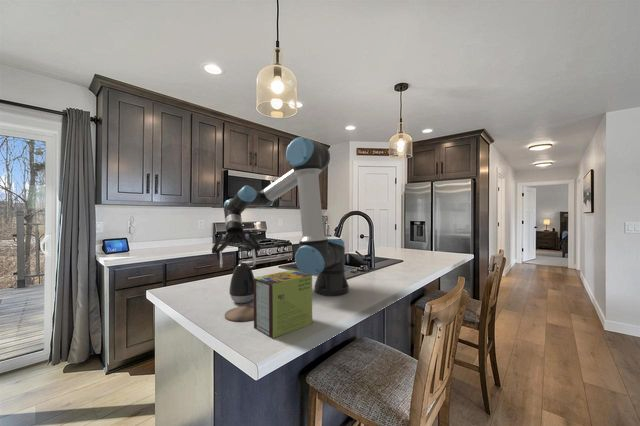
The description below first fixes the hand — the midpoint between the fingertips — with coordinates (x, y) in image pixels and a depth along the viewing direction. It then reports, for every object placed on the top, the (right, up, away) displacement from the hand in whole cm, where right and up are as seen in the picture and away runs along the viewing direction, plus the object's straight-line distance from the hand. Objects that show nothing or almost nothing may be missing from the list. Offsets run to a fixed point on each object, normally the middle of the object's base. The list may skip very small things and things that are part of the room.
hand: (238, 264), depth 115 cm
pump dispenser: (+4, -14, -6) cm, 15 cm away
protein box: (+22, -14, -29) cm, 39 cm away
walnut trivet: (+8, -13, -20) cm, 25 cm away
